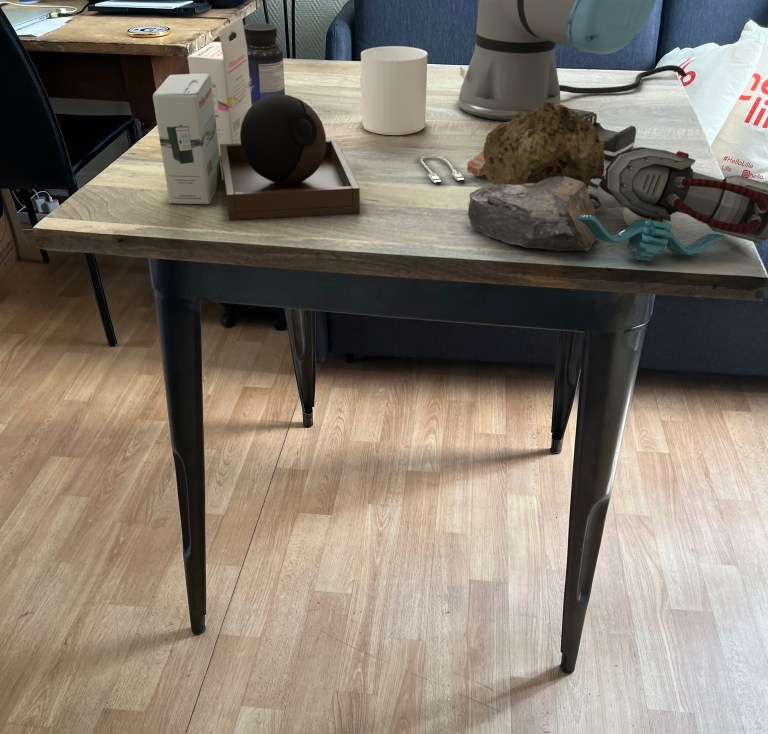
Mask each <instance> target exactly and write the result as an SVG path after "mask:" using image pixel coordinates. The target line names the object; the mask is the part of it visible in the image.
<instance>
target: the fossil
mask: <svg viewBox="0 0 768 734" xmlns="http://www.w3.org/2000/svg"><path fill="white" fill-rule="evenodd" d="M570 109H571V108H570V107H567V106H565V105H563V104H560V105H558V104H556V103H552V102H551V101H547V102H545V103H544V104H543V105H541V106H539V107H538V108H537V109H534V110H533V109H531V108H525V109H523V110H522V112H519V113H516V114H514V115H513V117H512V119H511V121H505V122H502V123H499V124H498V125H497V126H496V127H494V128H492V130H491V131H490V132H488V133H487V135H486V137H485V142H484V146H483V150H482V151H483V153H484V155H483V156H484V160H485V163H484V164H483V172H484V174H485V175H484V176H485V177H486V179H487V180H488V182H490V183H491V184H492V185H495V184H512V185H522V184H528V183H538V182H540V181H542V180H544V179H547V178H550V177H555V176H561V177H564V176H566V177H569V178H573V179H576V180H579V181H582V182H583V183H584V184H585V185H586V187H587V189H589V188H590V186H589V185H590V184H591V182H592V180H597V179H596V178H598V177H600V176H601V175H605V174H606V173H605V168H606V167H605V166H606V165H605V159H604V157H605V153H604V151H603V150H604V147H605V144H604V142H603V141H601V140H600V139H599V136H598V134H597V133H596V131H595V128H594V126H593V123H592V122H591V121H589V120H587V119H585V118H584V117H582V116H581V115H578V114H577V113H576V112H575V111H571V110H570ZM590 181H591V182H590Z"/></svg>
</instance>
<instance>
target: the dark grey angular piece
mask: <svg viewBox="0 0 768 734" xmlns="http://www.w3.org/2000/svg"><path fill="white" fill-rule="evenodd" d="M569 109H570V110H571V111H575V112H576V113H577V114H578V115H581V116H582V117H584V118H585V119H587V120H589V121H591V122H592V123H593V126H594V128H595V131H596V133H597V134H598V136H599V139H600V140H601V141H603V142H604V144H605V147H604V150H603V151H604V153H605V157H604V160H609V161H612V160H613V159H614V157H615V156H616V155H617V154H618V153H622V152H625V151H629V150H632V149H634V147H635V144H636V135H637V128H636V126H634V125H630V126H628V127H626V128H624V129H623V130H621V131H617V130H616V131H615V130H610V129H607V128H604V127H603V126H602V125H601V123H600V122H597V121H598V119H597V118H598V117H597V116H598V114H597V113H596V112H594V111H589V110H583V109H575V108H569Z"/></svg>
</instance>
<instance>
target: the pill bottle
mask: <svg viewBox="0 0 768 734" xmlns="http://www.w3.org/2000/svg"><path fill="white" fill-rule="evenodd" d="M243 27H244V33H245V39H246V45H247V54H248V67H249V79H250V91H251V103H252V105H253V104H254V103H256V102H257V101H258V100H260V99H262V98H264V97H266V96H269V95H274V94H283V95H286V88H285V68H284V50H283V48H282V47H281V45H279V44H278V43H277V42H276V41H277V40H276V39H277V37H278V29H277V26H276V25H275V24H272V23H265V22H264V23H263V22H256V23H247V24H243Z"/></svg>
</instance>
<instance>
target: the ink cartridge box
mask: <svg viewBox="0 0 768 734" xmlns="http://www.w3.org/2000/svg"><path fill="white" fill-rule="evenodd" d="M243 21H244V20H243V18H242V17H241V16H240V17H239V18H237V19H236V20H233V21H231V22H229V23H227V24H226V25H225V26H224V27H222V28H220V29H218V36H219V41H211V42H209V43H208V44H207V45H205V46H203V47H202V48H200V49H198V50H196V51H195V52H193V53H191V54H190V55H188V56H187V57H186V58H187V62H188V71H189V74H209V75H210V77H211V84H212V93H213V101H214V110H215V119H216V128H217V137H218V146H219V155H220V158H221V152H220V144H240V143H241V141H240V131H241V125H242V122H243V119H244V117H245V115H246V113H247V111H248V110H249V109H250V107H251V106H252V103H251V91H250V79H249V67H248V54H247V45H246V39H245V33H244V27H243V26H244V22H243ZM232 33H235V38H233V39H232V40H230V36H231V35H232Z"/></svg>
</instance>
